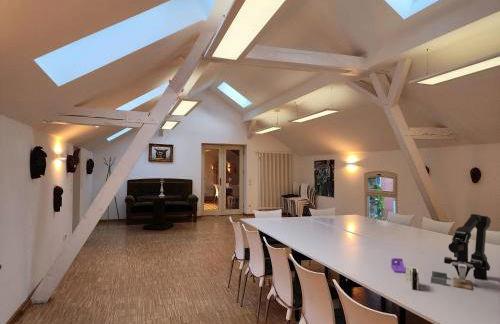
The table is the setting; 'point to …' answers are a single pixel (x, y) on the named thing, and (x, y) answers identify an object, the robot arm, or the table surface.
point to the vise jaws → (439, 278)
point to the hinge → (412, 276)
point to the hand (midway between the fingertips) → (462, 276)
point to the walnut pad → (462, 284)
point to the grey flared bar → (462, 274)
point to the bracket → (398, 265)
